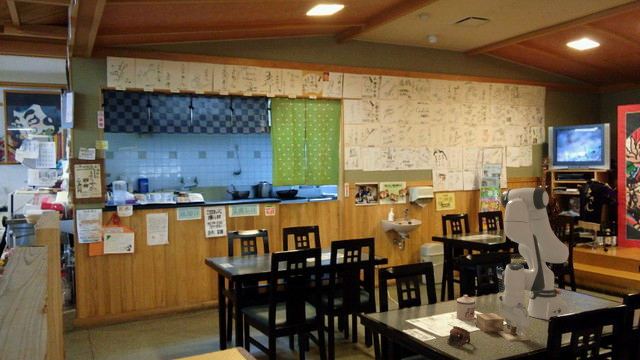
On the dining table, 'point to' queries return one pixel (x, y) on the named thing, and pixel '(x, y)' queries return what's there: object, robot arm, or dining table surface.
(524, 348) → the dining table surface
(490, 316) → the box body
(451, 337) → the brown lumpy figurine
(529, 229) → the robot arm
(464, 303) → the teacup with lid
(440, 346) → the dining table surface
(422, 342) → the dining table surface
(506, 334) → the lid
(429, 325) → the dining table surface
